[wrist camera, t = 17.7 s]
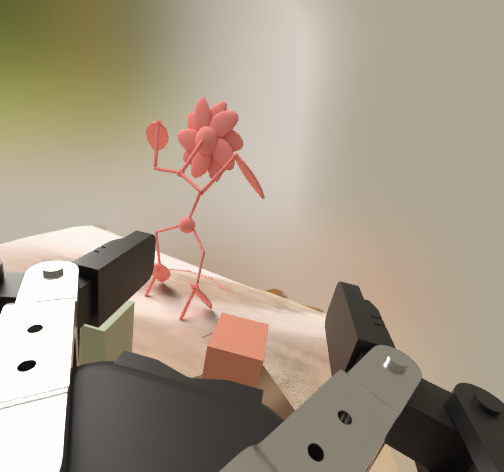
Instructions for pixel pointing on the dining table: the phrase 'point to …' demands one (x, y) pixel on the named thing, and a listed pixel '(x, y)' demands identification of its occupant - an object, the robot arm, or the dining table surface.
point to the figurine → (201, 167)
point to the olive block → (108, 336)
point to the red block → (236, 350)
